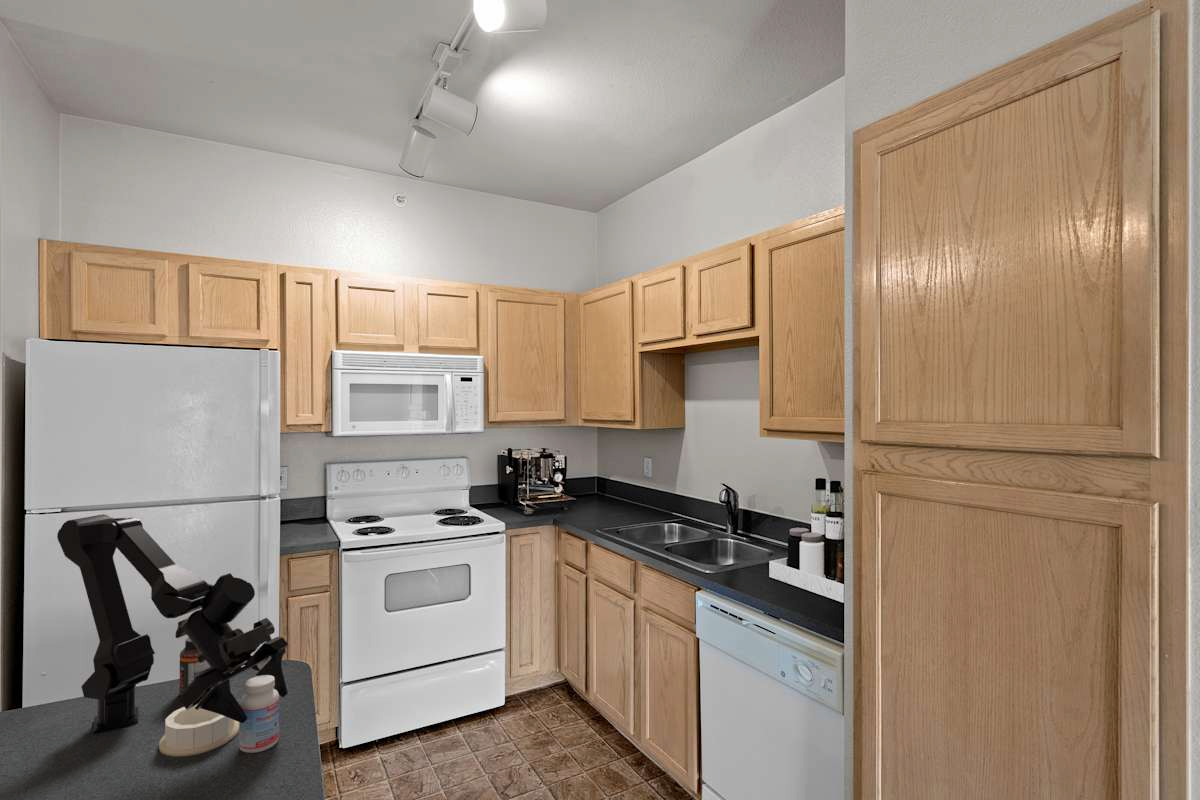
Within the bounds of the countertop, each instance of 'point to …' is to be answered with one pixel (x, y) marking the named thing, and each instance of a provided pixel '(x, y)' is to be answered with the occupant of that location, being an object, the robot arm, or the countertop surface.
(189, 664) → the supplement bottle
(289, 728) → the countertop surface
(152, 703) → the countertop surface
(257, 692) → the pill bottle
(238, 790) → the countertop surface
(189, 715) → the socket dock
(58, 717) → the countertop surface
